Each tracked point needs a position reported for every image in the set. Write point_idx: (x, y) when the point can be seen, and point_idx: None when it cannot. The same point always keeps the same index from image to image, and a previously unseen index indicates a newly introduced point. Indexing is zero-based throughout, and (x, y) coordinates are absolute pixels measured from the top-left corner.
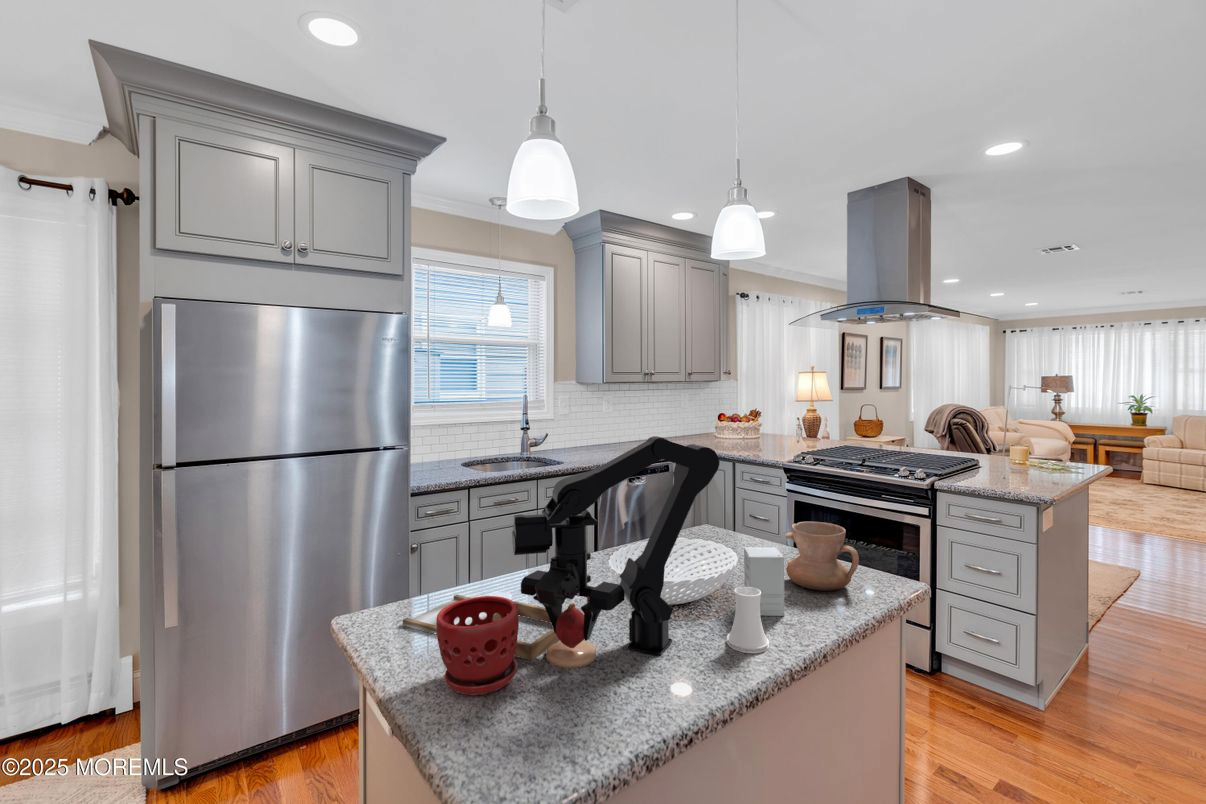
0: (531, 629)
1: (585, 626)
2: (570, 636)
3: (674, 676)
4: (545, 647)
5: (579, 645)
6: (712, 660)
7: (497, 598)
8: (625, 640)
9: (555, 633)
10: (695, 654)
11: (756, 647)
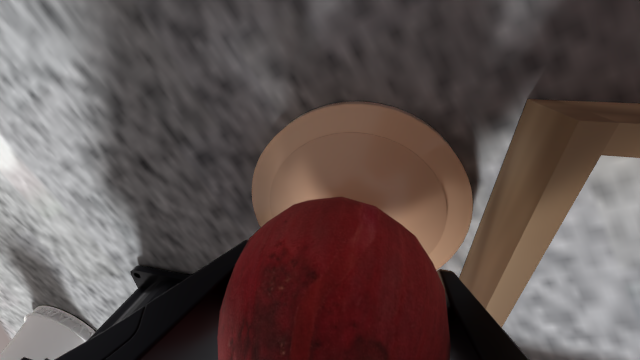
0: (623, 339)
1: (186, 298)
2: (285, 217)
3: (42, 189)
4: (492, 216)
5: None
6: (57, 272)
7: None
8: None
9: (448, 271)
10: (96, 286)
11: (27, 318)
